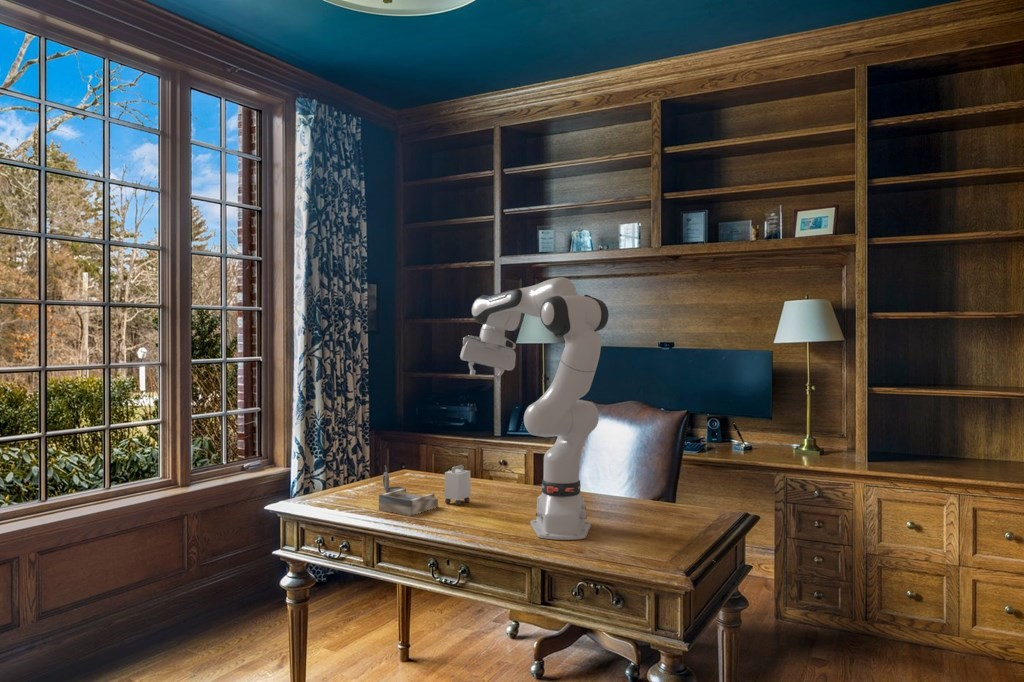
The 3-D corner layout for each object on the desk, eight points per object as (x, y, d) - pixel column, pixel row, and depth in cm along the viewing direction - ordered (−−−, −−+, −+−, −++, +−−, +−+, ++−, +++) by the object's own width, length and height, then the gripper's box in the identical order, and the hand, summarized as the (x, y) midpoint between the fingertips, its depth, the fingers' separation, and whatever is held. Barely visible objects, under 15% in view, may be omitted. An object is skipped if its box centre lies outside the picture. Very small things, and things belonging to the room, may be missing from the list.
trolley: (456, 499, 244) (456, 463, 244) (470, 502, 241) (471, 465, 241) (443, 503, 238) (444, 466, 238) (458, 506, 235) (458, 468, 235)
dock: (406, 501, 241) (406, 487, 241) (437, 507, 233) (437, 492, 233) (378, 510, 229) (378, 495, 229) (410, 516, 222) (410, 501, 222)
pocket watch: (407, 490, 257) (408, 464, 257) (392, 495, 250) (392, 468, 250) (392, 488, 262) (392, 461, 261) (376, 492, 255) (376, 465, 254)
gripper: (467, 332, 240) (460, 371, 237) (520, 345, 247) (513, 383, 245) (461, 334, 246) (454, 372, 243) (513, 347, 253) (507, 383, 250)
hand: (484, 377), depth 244 cm, fingers open, 8 cm apart
